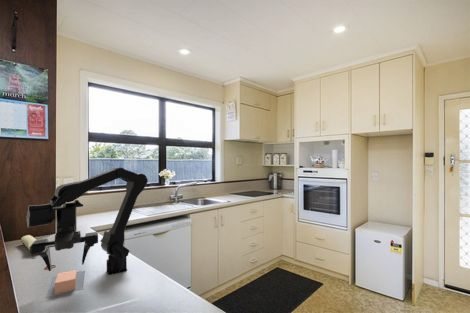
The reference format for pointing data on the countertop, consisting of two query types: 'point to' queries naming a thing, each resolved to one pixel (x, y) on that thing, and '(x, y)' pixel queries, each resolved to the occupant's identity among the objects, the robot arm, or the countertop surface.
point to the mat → (78, 287)
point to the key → (51, 267)
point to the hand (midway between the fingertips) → (66, 267)
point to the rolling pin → (28, 241)
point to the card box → (66, 281)
